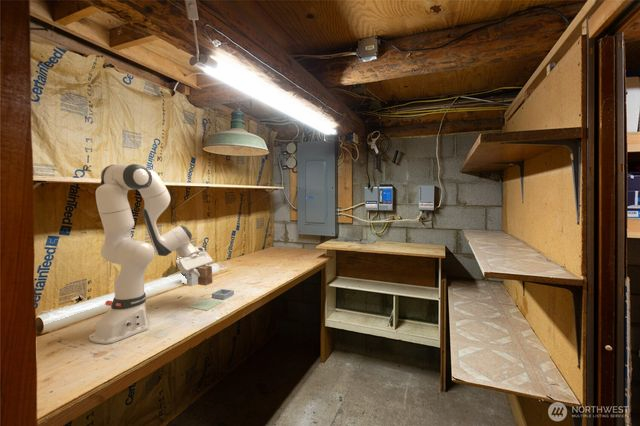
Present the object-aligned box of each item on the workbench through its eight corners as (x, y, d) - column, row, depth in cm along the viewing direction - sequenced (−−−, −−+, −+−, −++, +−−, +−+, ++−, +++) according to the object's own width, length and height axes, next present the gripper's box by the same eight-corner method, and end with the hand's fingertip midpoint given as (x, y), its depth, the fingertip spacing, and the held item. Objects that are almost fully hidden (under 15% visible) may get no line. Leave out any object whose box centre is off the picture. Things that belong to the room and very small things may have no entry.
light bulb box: (180, 283, 196) (180, 267, 195) (189, 281, 202) (189, 265, 201) (192, 286, 191) (191, 269, 190) (200, 283, 197) (200, 267, 196)
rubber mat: (206, 310, 152) (206, 309, 152) (188, 307, 156) (188, 306, 156) (222, 302, 163) (222, 301, 163) (204, 299, 167) (204, 298, 167)
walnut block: (205, 285, 156) (205, 268, 155) (198, 284, 158) (197, 267, 157) (212, 282, 160) (211, 266, 160) (204, 281, 162) (204, 265, 161)
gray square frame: (224, 299, 167) (224, 295, 167) (211, 297, 170) (211, 293, 170) (234, 294, 175) (233, 290, 175) (221, 292, 178) (221, 288, 178)
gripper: (176, 254, 151) (192, 276, 148) (205, 247, 170) (220, 265, 167) (170, 263, 153) (186, 284, 150) (199, 254, 172) (214, 272, 169)
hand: (204, 274), depth 159 cm, fingers closed on walnut block, 5 cm apart
